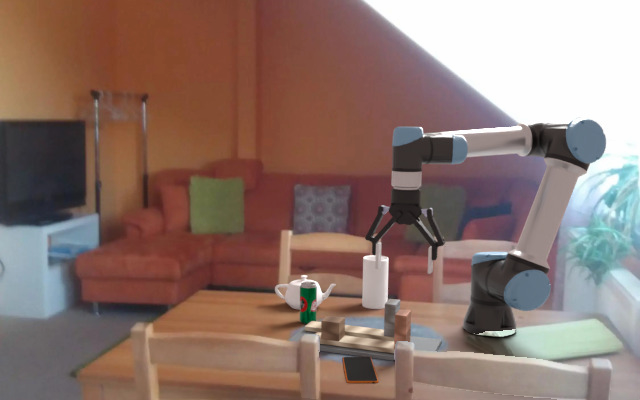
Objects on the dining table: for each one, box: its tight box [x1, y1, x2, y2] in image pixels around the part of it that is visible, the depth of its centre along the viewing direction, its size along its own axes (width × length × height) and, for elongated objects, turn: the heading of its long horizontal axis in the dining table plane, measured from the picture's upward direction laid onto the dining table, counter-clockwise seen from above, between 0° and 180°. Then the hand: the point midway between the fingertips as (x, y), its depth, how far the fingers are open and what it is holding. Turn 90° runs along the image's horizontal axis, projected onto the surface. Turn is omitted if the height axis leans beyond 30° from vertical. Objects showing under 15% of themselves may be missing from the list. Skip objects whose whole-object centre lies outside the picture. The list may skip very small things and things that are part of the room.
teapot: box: [274, 274, 337, 311], centre depth 222 cm, size 20×12×10 cm, turn 84°
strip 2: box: [316, 308, 412, 353], centre depth 181 cm, size 26×6×10 cm, turn 70°
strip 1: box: [304, 298, 401, 341], centre depth 191 cm, size 26×6×10 cm, turn 70°
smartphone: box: [342, 356, 379, 384], centre depth 167 cm, size 8×17×1 cm, turn 2°
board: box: [288, 326, 443, 361], centre depth 186 cm, size 39×18×1 cm, turn 70°
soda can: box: [299, 281, 318, 325], centre depth 205 cm, size 5×5×12 cm
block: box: [320, 315, 346, 341], centre depth 184 cm, size 5×5×5 cm
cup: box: [361, 254, 389, 310], centre depth 223 cm, size 8×8×16 cm
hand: (403, 270), depth 175 cm, fingers open, 13 cm apart
